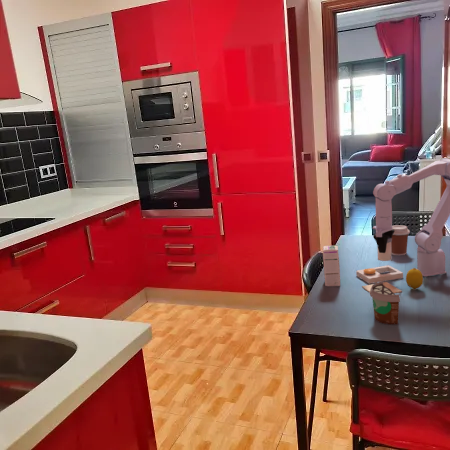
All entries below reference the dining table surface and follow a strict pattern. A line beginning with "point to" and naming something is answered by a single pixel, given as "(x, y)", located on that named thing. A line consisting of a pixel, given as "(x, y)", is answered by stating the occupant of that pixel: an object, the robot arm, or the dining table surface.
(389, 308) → the food container
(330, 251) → the syrup box
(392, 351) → the dining table surface
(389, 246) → the cylinder
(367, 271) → the orange dome button
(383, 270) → the beige flat frame
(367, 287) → the birch board
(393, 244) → the coffee cup
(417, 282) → the lemon
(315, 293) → the dining table surface
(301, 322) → the dining table surface
